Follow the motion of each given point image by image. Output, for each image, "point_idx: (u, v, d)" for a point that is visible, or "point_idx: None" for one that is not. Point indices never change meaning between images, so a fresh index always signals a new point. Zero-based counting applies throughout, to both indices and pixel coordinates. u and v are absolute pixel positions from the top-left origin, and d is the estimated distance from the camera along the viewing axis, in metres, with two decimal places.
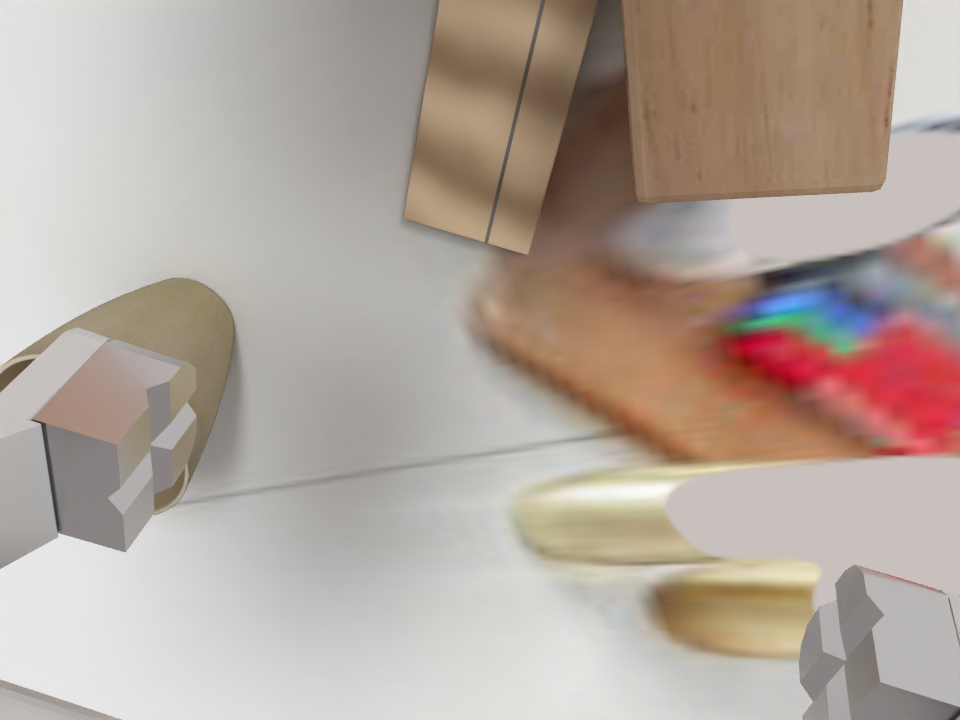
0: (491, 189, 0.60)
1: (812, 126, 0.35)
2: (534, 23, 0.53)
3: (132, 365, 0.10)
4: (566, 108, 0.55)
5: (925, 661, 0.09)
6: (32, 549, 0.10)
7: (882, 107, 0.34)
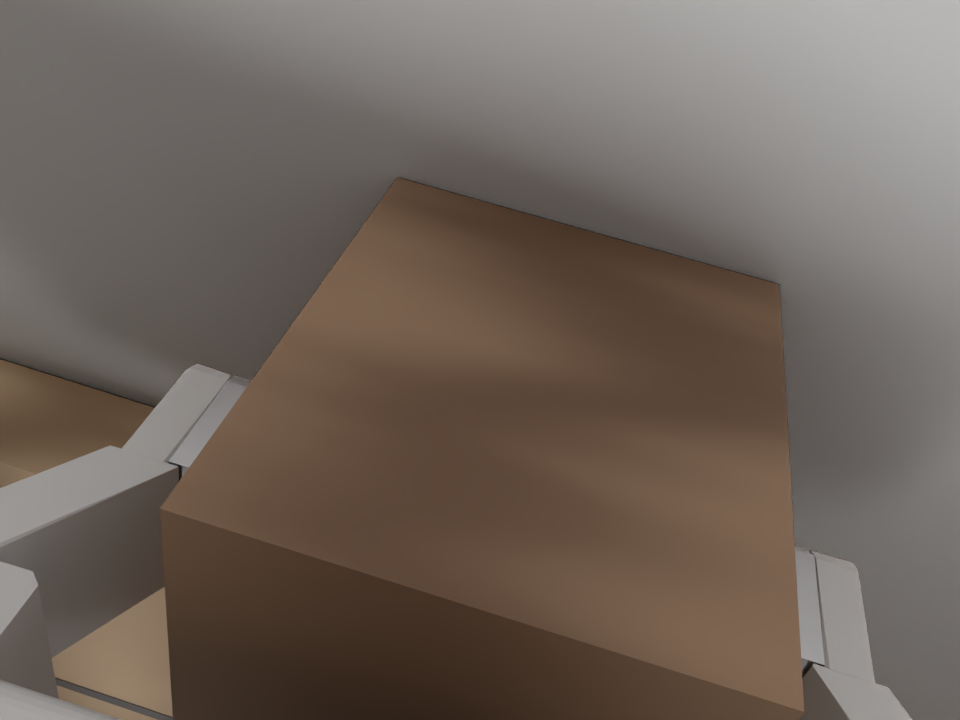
0: None
1: None
2: (145, 705, 0.17)
3: None
4: None
5: None
6: (156, 588, 0.10)
7: None
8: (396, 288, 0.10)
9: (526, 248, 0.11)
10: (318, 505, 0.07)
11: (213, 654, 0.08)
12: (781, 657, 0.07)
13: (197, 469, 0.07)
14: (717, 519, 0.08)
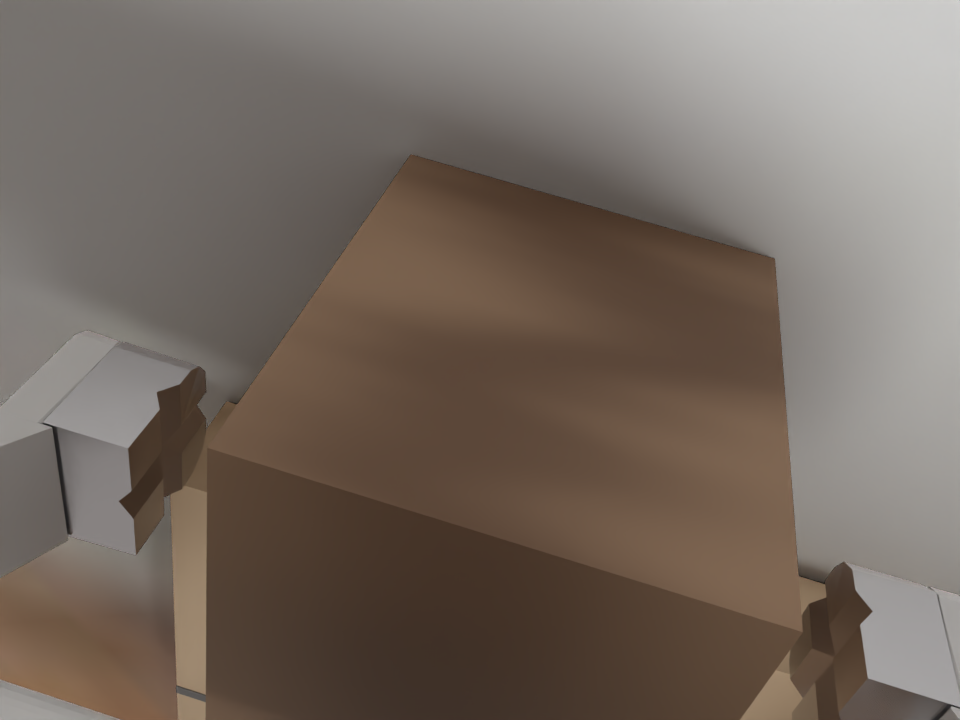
0: None
1: None
2: None
3: (143, 368, 0.10)
4: None
5: (914, 657, 0.09)
6: (42, 553, 0.10)
7: None
8: (414, 255, 0.10)
9: (535, 221, 0.11)
10: (353, 447, 0.08)
11: (249, 592, 0.08)
12: (781, 585, 0.07)
13: (239, 414, 0.08)
14: (721, 466, 0.08)
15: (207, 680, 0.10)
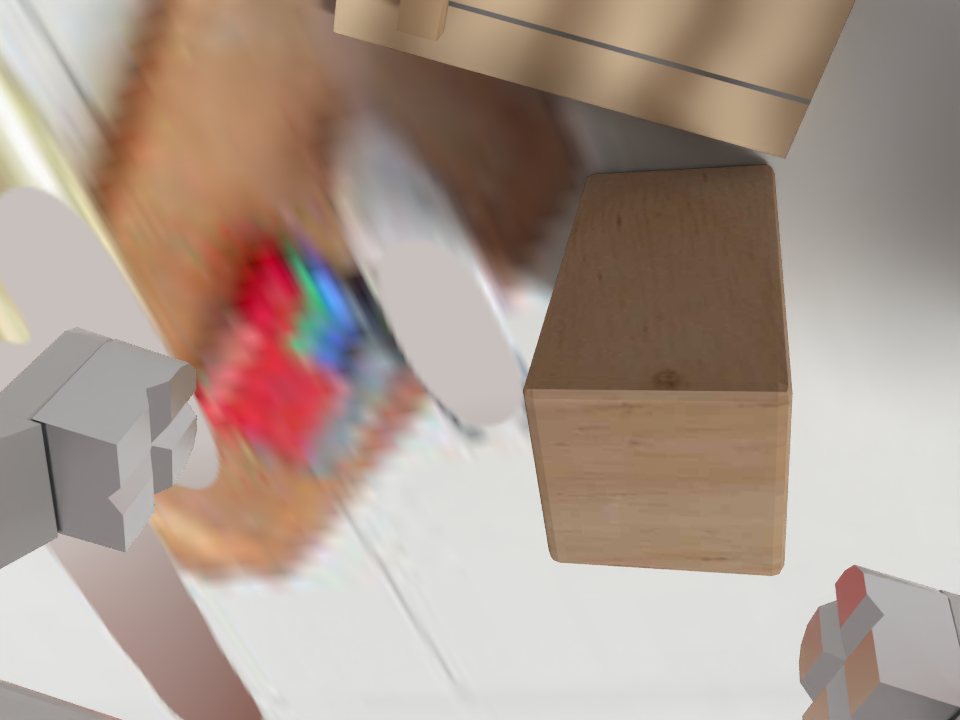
0: None
1: (614, 523, 0.38)
2: (635, 50, 0.44)
3: (132, 365, 0.10)
4: (533, 86, 0.46)
5: (925, 660, 0.09)
6: (32, 549, 0.10)
7: (630, 564, 0.39)
8: None
9: None
10: None
11: None
12: None
13: None
14: None
15: None
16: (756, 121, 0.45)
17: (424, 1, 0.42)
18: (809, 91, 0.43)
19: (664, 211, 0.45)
